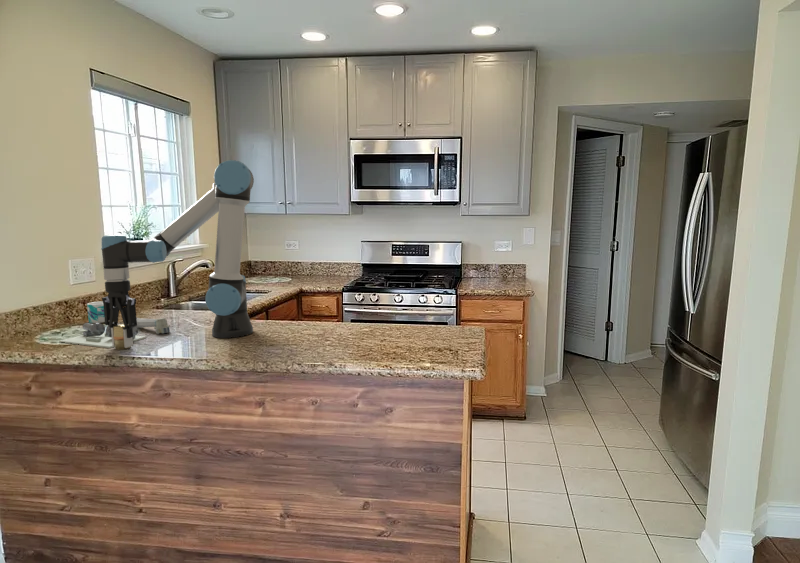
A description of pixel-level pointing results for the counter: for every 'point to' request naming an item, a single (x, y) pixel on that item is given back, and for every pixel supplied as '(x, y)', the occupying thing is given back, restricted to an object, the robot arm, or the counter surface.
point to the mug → (96, 312)
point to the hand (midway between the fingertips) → (122, 345)
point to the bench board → (95, 340)
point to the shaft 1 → (93, 329)
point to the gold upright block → (119, 337)
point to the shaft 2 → (135, 329)
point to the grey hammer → (154, 324)
